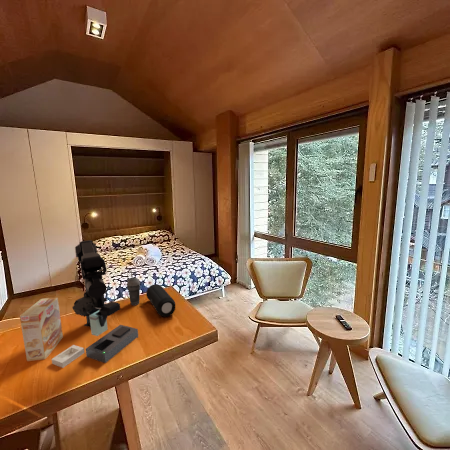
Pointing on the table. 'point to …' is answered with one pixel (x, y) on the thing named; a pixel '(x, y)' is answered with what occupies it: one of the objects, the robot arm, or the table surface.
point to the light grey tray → (68, 356)
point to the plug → (97, 324)
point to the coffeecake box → (41, 328)
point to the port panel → (111, 343)
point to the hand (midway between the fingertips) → (99, 325)
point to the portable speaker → (161, 300)
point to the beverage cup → (134, 290)
